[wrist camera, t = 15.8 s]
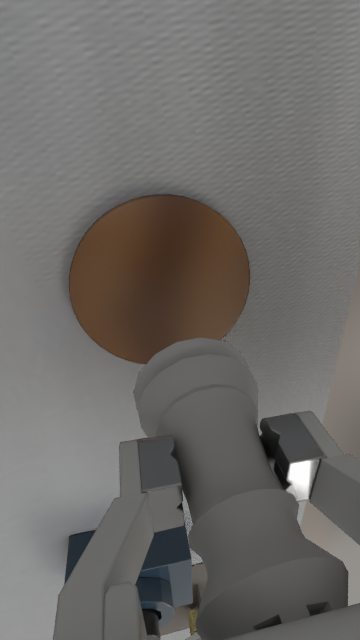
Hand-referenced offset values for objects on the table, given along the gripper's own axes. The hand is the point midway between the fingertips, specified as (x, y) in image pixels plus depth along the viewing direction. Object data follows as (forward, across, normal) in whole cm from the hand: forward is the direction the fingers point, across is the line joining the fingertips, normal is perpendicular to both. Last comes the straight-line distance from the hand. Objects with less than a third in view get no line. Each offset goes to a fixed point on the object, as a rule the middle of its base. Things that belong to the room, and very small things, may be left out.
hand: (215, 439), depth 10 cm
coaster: (+12, 0, 0) cm, 12 cm away
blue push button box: (+12, +5, +29) cm, 32 cm away
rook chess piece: (+3, 0, 0) cm, 3 cm away
